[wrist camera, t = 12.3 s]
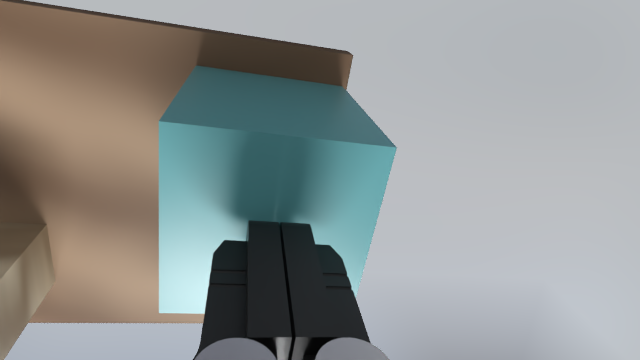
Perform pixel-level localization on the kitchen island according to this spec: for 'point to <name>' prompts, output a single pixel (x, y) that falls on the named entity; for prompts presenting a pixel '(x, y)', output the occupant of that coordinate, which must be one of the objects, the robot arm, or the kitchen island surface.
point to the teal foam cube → (262, 173)
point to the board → (101, 153)
